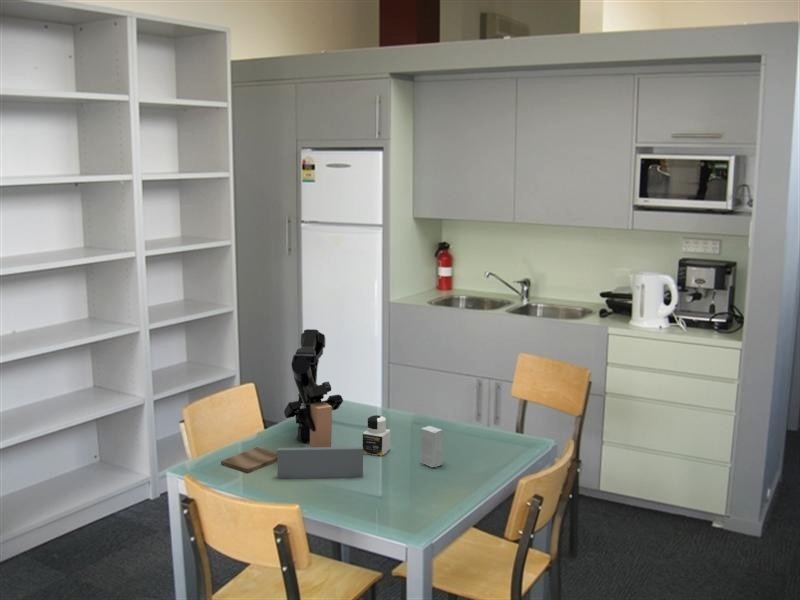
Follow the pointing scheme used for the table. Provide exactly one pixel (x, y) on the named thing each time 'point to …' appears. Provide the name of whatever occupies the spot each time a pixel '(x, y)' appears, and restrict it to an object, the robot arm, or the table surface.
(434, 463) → the skincare box
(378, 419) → the medicine bottle
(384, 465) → the table surface
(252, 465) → the walnut board
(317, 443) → the terracotta block
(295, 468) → the slate screen
